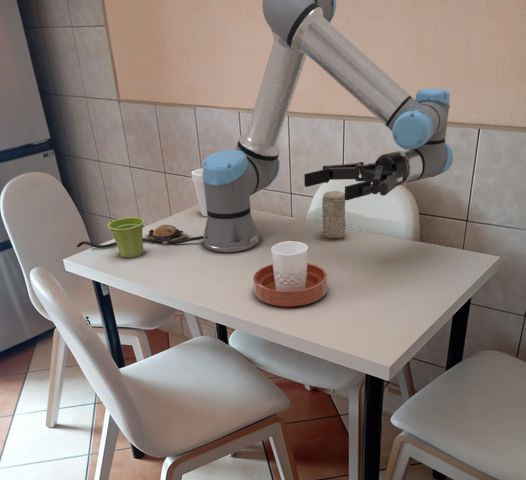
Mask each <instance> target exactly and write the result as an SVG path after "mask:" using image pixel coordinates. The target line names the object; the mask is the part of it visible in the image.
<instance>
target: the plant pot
mask: <svg viewBox="0 0 526 480" xmlns="http://www.w3.org/2000/svg"><path fill="white" fill-rule="evenodd" d="M144 224H145V220H144V219H143V218H141V217H137V216H136V217H135V216H132V217H131V216H130V217H122V218H118V219H115V220H112V221H110V222H109V223H108V224H107V228H108V229H109V230H110V232H111V234H112V236H113V238H114V242H116V244H117V245H116V246H117V249H118V253H119V255H120V257H122V258H128V259H132V258H136V257H139V256H141V254H143V253H144V241H143V238H144V237H143V228H144Z"/></svg>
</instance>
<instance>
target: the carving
mask: <svg viewBox="0 0 526 480" xmlns="http://www.w3.org/2000/svg"><path fill="white" fill-rule="evenodd" d="M321 201H322V204H321V211H322V215H321V217H322V235H323V237H324V238H326V239H341V238H344V237H345V235H346V230H347V226H346V225H347V224H346V200H345V192H344V191H337V190H333V191H327V192H325V193H323V196H322V199H321Z"/></svg>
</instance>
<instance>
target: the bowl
mask: <svg viewBox="0 0 526 480" xmlns="http://www.w3.org/2000/svg"><path fill="white" fill-rule="evenodd" d="M252 280H253V291H254V292H253V293H254V295H255V297H256V298H257V299H258V300H260V302H263V303H266V304H268V305H271V306H272V305H273V306H278V307H299V306H306V305H309V304H312V303H315V302H317V301H319V300H320V299H323V298H324V296H326V295H327V292H328V273H327V272H326V270H325V269H324V268H322V267H320V266H319V265H317V264H313V263H311V262H307V278H306V289H303V290H295V291H280V290H276V288H275V279H274V272H273V263H272V264H268V265H265V266H263V267H261V268H260V269H258V270H257V271H256V272H255V273H254V275H253V279H252Z"/></svg>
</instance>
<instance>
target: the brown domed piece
mask: <svg viewBox="0 0 526 480" xmlns="http://www.w3.org/2000/svg"><path fill="white" fill-rule="evenodd" d="M146 237H147V238H148V239H158V240H164V241H163V243H162V244H163V245H165V246H166V245H169V244H168V242H166V241H165V240H169V241H176V240H183V239H187V238H188V235H186V234H184V231H183V230H180V229H179V228H177V227H176V226H174V225H171V224H162V225H159V226H157V227H156V228H154V229H153V228H152V229H149V231H148V234H147V236H146Z"/></svg>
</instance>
